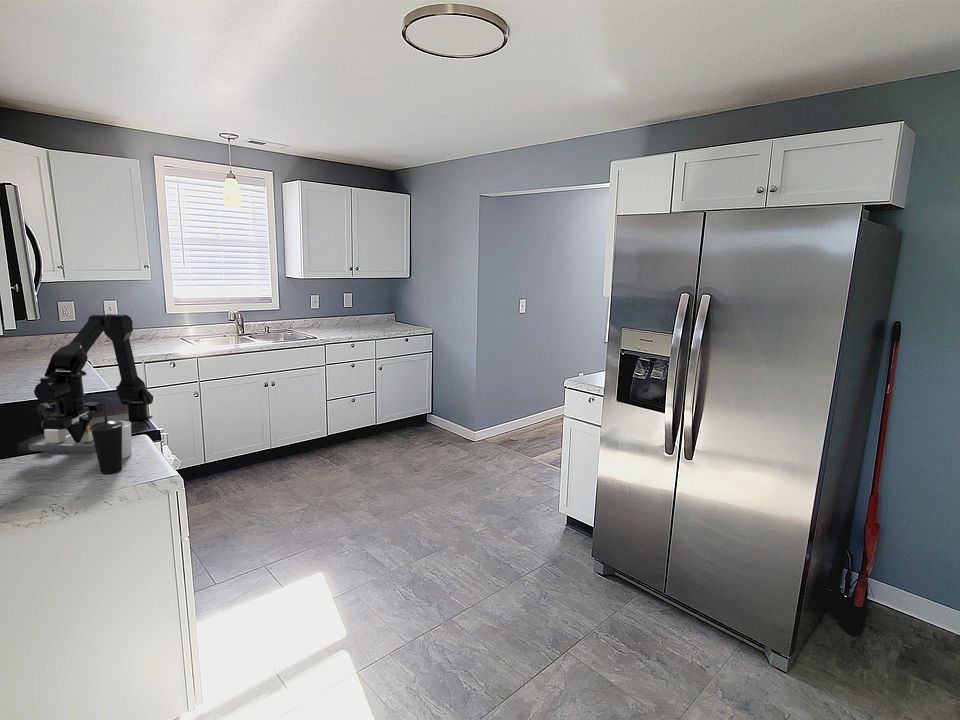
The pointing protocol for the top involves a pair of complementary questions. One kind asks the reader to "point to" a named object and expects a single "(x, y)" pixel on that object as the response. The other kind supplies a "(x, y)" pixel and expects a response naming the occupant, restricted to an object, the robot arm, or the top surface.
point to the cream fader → (54, 435)
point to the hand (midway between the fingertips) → (77, 442)
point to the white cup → (126, 439)
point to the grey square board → (65, 445)
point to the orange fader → (87, 435)
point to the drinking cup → (108, 444)
